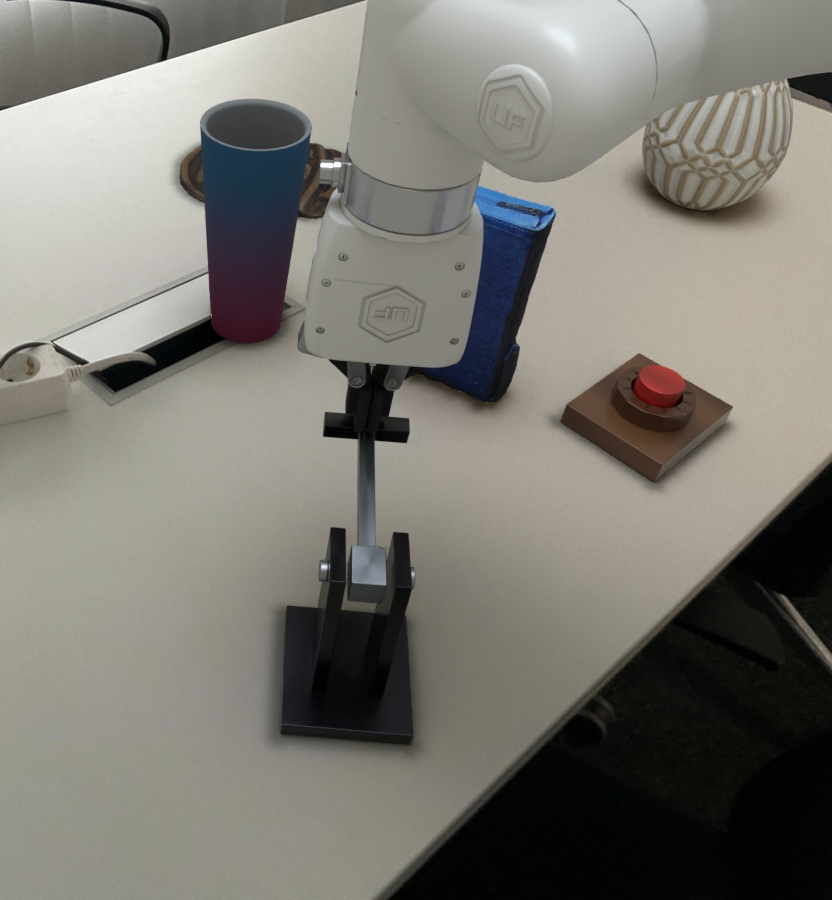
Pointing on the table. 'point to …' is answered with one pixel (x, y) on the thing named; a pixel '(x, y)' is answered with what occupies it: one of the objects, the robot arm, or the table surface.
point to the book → (499, 295)
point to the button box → (644, 420)
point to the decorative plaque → (312, 191)
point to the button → (659, 386)
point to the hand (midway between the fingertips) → (364, 418)
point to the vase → (719, 146)
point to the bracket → (350, 656)
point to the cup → (251, 210)
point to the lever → (366, 504)
